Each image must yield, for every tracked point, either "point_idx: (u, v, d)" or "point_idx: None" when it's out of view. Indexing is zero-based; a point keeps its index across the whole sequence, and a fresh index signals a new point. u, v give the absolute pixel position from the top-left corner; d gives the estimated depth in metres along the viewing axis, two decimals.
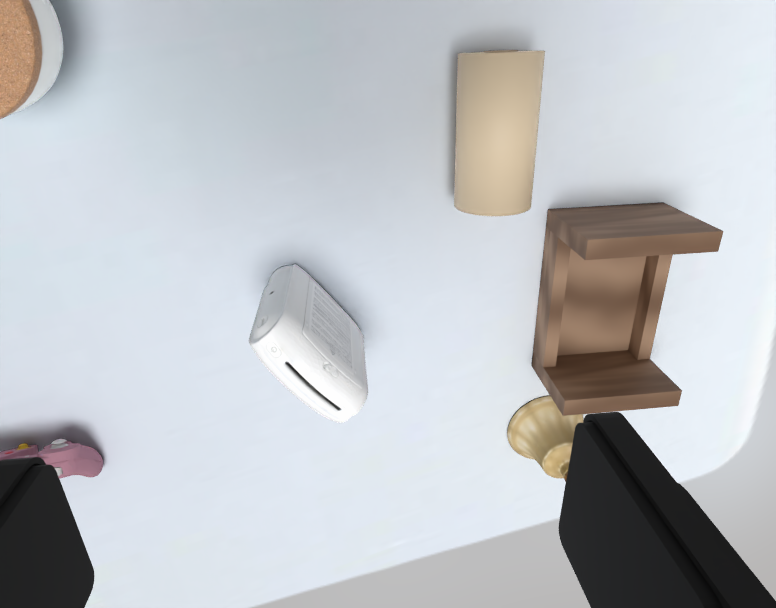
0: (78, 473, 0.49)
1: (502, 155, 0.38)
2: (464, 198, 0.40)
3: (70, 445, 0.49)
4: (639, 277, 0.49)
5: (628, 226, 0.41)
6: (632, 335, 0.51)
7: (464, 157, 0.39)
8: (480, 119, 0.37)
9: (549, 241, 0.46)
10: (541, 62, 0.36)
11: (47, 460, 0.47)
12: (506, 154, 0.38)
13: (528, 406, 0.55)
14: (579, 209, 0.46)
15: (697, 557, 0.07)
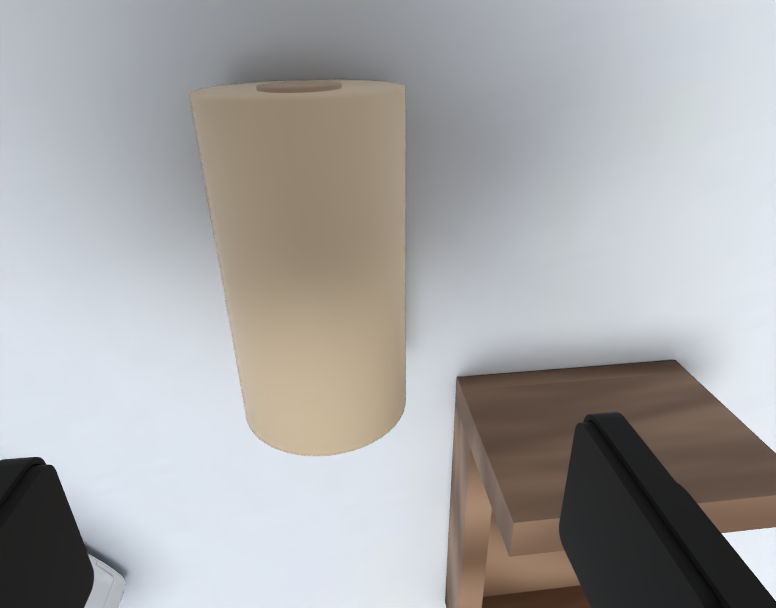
0: None
1: (307, 340, 0.15)
2: (249, 408, 0.18)
3: None
4: None
5: None
6: None
7: (234, 329, 0.17)
8: (244, 260, 0.15)
9: (459, 437, 0.24)
10: (390, 120, 0.14)
11: None
12: (317, 338, 0.15)
13: None
14: (516, 380, 0.24)
15: (697, 557, 0.07)
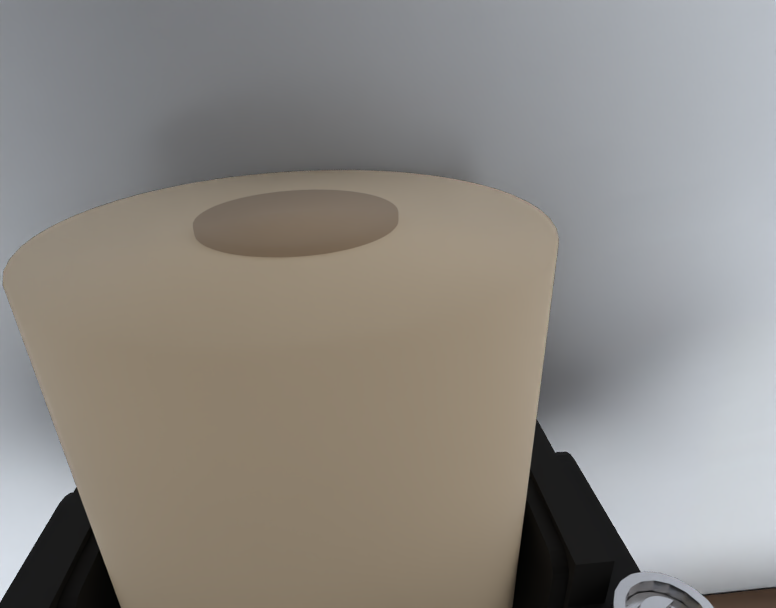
0: None
1: None
2: None
3: None
4: None
5: None
6: None
7: None
8: None
9: None
10: (537, 332, 0.05)
11: None
12: None
13: None
14: None
15: (553, 511, 0.07)
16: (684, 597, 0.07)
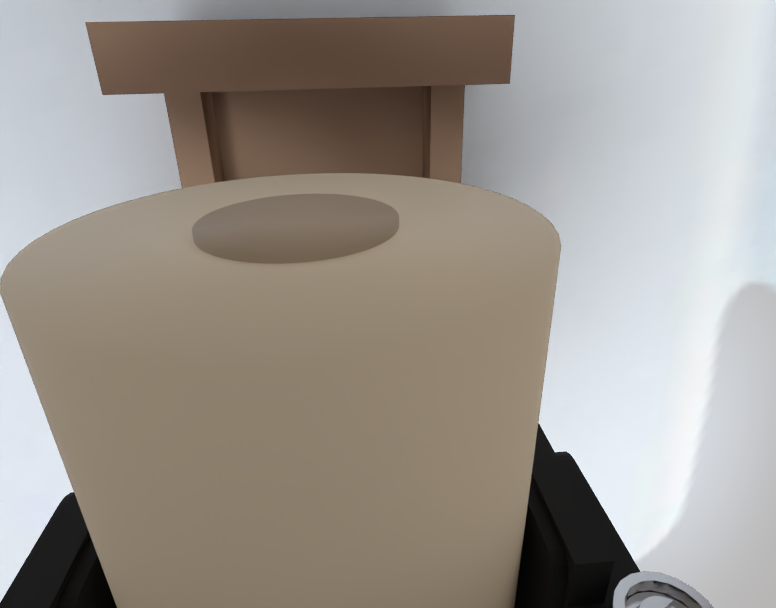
0: None
1: None
2: None
3: None
4: None
5: None
6: None
7: None
8: None
9: None
10: (539, 339, 0.05)
11: None
12: None
13: None
14: None
15: (552, 511, 0.07)
16: (683, 598, 0.07)
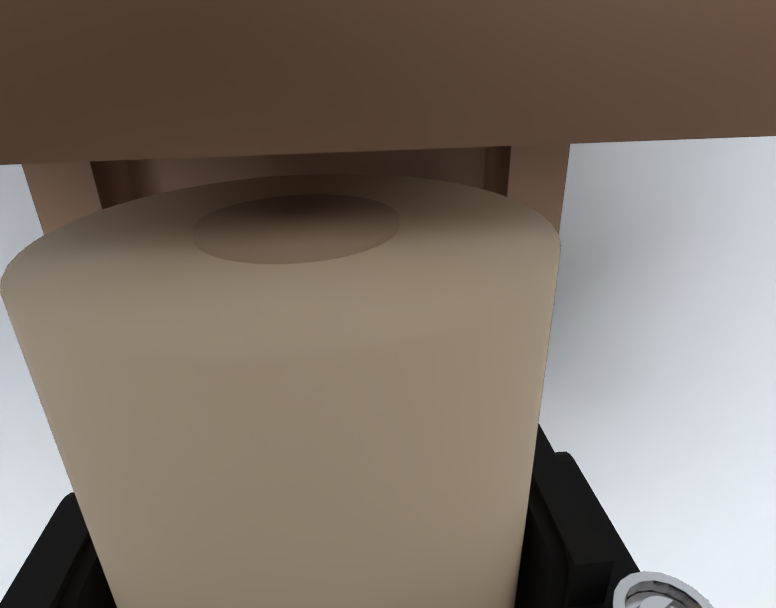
0: None
1: None
2: None
3: None
4: None
5: None
6: None
7: None
8: None
9: None
10: (539, 340, 0.05)
11: None
12: None
13: None
14: None
15: (553, 511, 0.07)
16: (683, 597, 0.07)
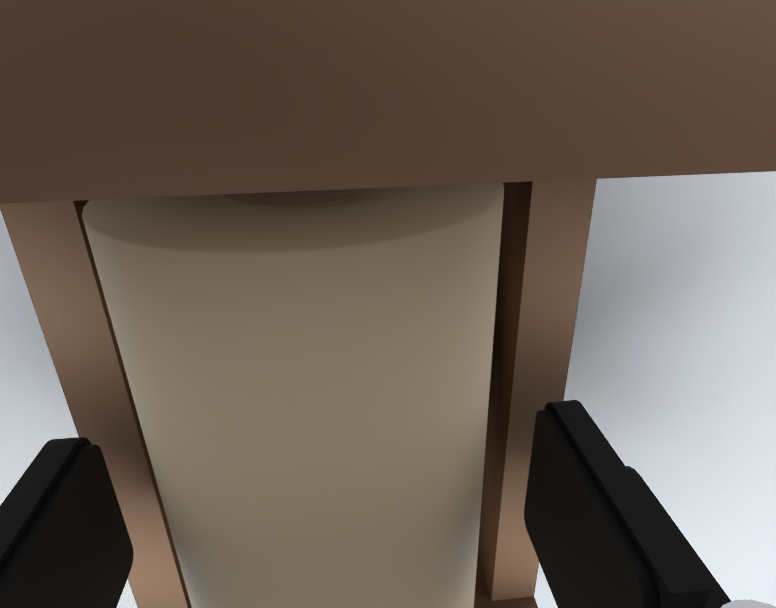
0: None
1: None
2: None
3: None
4: None
5: None
6: None
7: (187, 589, 0.10)
8: (196, 519, 0.08)
9: None
10: (485, 260, 0.07)
11: None
12: None
13: None
14: None
15: (636, 533, 0.07)
16: None
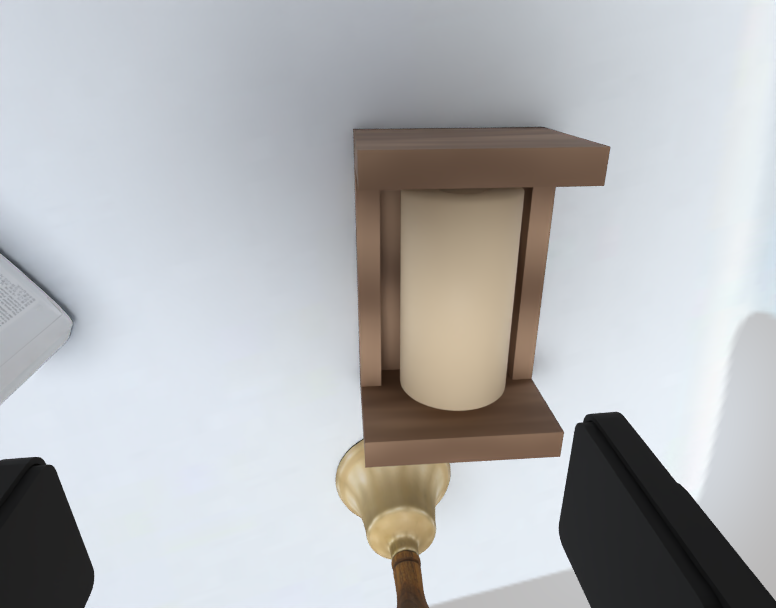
0: None
1: (463, 335, 0.26)
2: (411, 380, 0.29)
3: None
4: None
5: (452, 141, 0.23)
6: None
7: (410, 329, 0.27)
8: (431, 286, 0.25)
9: None
10: (519, 210, 0.25)
11: None
12: (469, 334, 0.26)
13: (361, 445, 0.36)
14: (402, 129, 0.28)
15: (697, 557, 0.07)
16: None
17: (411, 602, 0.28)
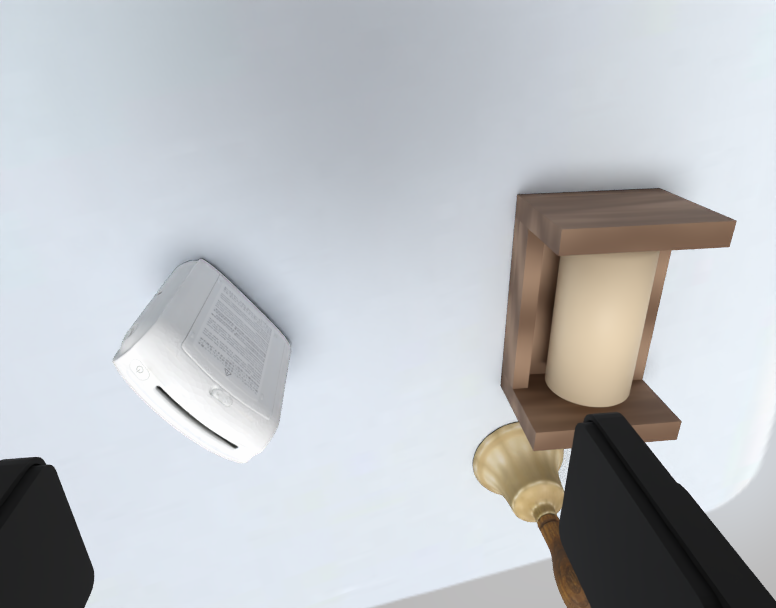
0: None
1: (612, 352, 0.35)
2: (563, 385, 0.38)
3: None
4: None
5: (615, 214, 0.32)
6: None
7: (566, 347, 0.36)
8: (591, 317, 0.34)
9: (518, 234, 0.37)
10: (657, 260, 0.34)
11: None
12: (616, 351, 0.35)
13: (497, 434, 0.46)
14: (556, 195, 0.37)
15: (697, 557, 0.07)
16: None
17: None
